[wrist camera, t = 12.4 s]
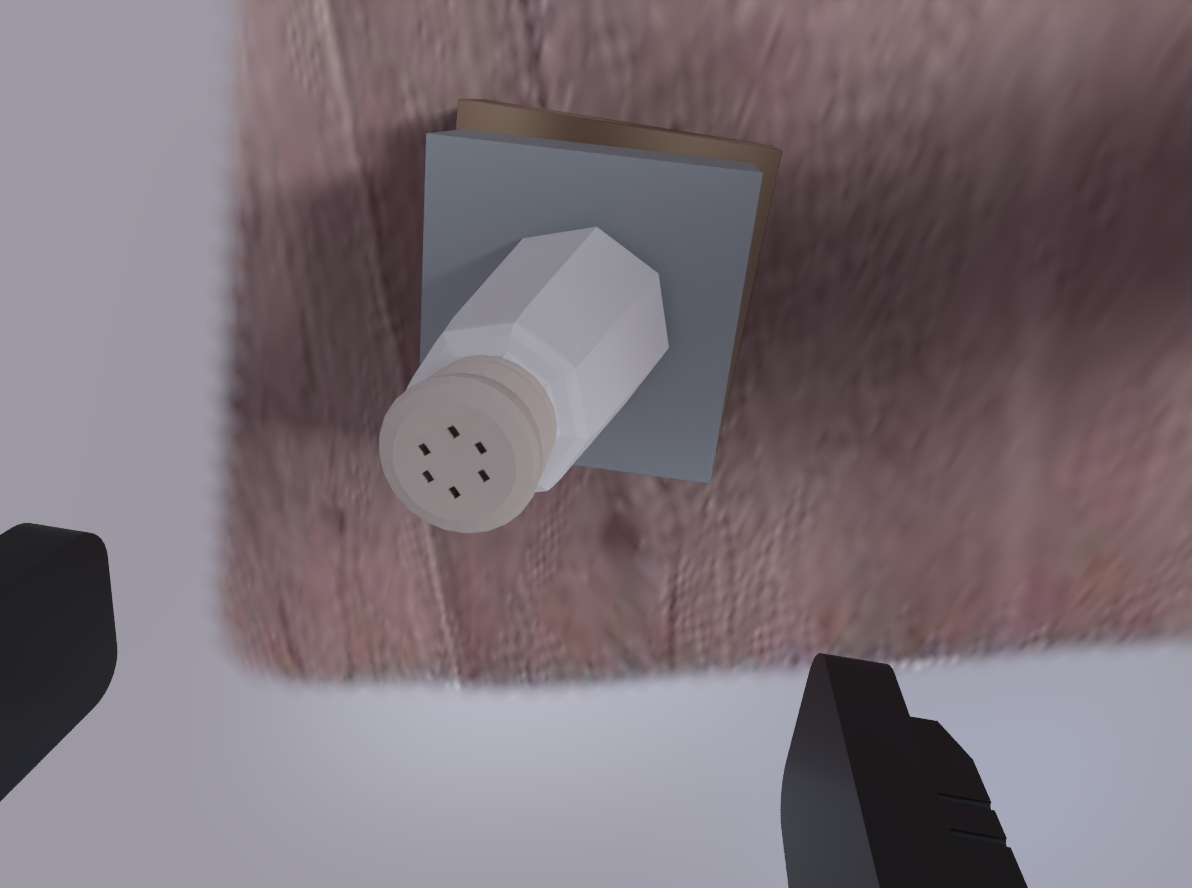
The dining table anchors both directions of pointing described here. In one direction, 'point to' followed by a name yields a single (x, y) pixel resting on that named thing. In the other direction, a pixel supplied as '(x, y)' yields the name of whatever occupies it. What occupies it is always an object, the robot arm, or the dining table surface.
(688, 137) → the walnut base block
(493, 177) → the grey top block
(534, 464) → the pepper shaker
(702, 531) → the dining table surface
